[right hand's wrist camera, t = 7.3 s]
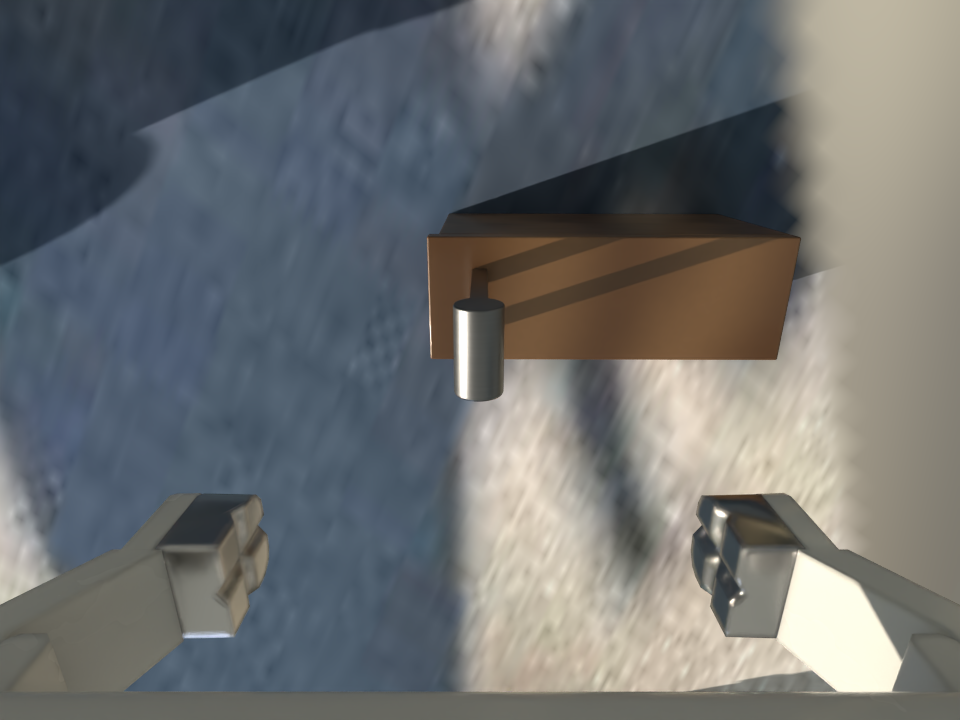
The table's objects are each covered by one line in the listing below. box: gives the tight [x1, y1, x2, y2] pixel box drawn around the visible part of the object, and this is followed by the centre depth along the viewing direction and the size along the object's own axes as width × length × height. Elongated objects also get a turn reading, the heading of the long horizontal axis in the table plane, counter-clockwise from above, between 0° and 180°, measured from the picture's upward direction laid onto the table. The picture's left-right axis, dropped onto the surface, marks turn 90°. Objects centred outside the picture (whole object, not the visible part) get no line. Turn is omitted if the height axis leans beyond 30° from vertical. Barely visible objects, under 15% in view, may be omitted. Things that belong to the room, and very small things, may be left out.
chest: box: [439, 214, 790, 235], centre depth 31 cm, size 16×6×8 cm, turn 90°
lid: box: [427, 234, 801, 401], centre depth 23 cm, size 17×6×8 cm, turn 90°
